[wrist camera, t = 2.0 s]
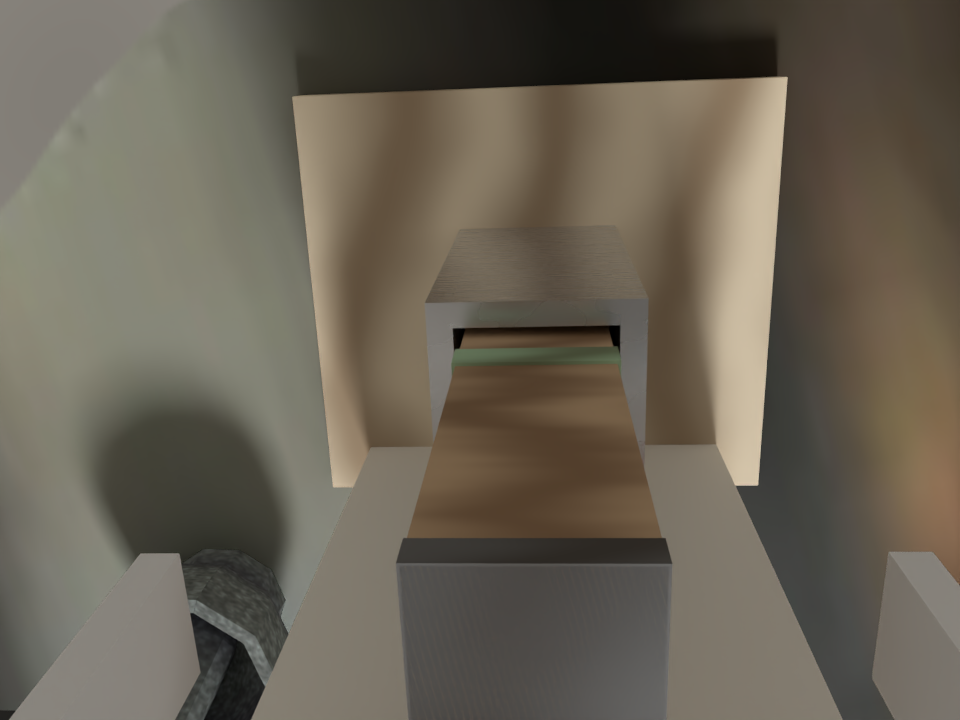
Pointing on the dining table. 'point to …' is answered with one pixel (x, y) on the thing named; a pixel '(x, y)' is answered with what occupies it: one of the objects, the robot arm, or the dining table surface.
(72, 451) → the dining table surface
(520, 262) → the metal sleeve
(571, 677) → the oak post
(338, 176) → the birch base plate
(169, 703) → the robot arm
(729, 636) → the board
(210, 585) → the mortar and pestle
